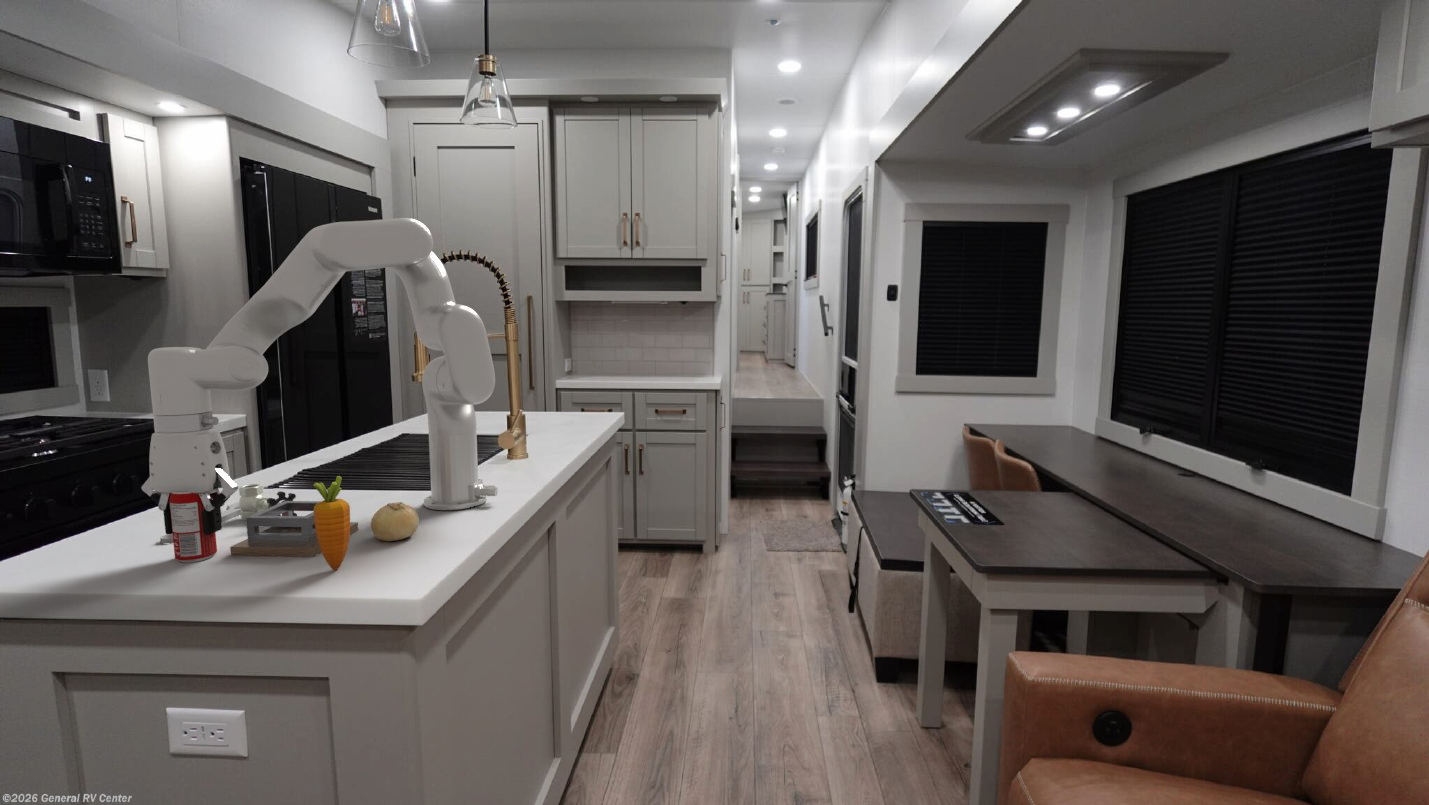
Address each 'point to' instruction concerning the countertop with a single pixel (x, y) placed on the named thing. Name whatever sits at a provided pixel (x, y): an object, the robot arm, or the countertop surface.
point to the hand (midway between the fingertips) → (194, 530)
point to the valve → (258, 500)
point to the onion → (394, 522)
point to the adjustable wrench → (230, 513)
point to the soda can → (190, 528)
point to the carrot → (332, 524)
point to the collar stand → (282, 532)
